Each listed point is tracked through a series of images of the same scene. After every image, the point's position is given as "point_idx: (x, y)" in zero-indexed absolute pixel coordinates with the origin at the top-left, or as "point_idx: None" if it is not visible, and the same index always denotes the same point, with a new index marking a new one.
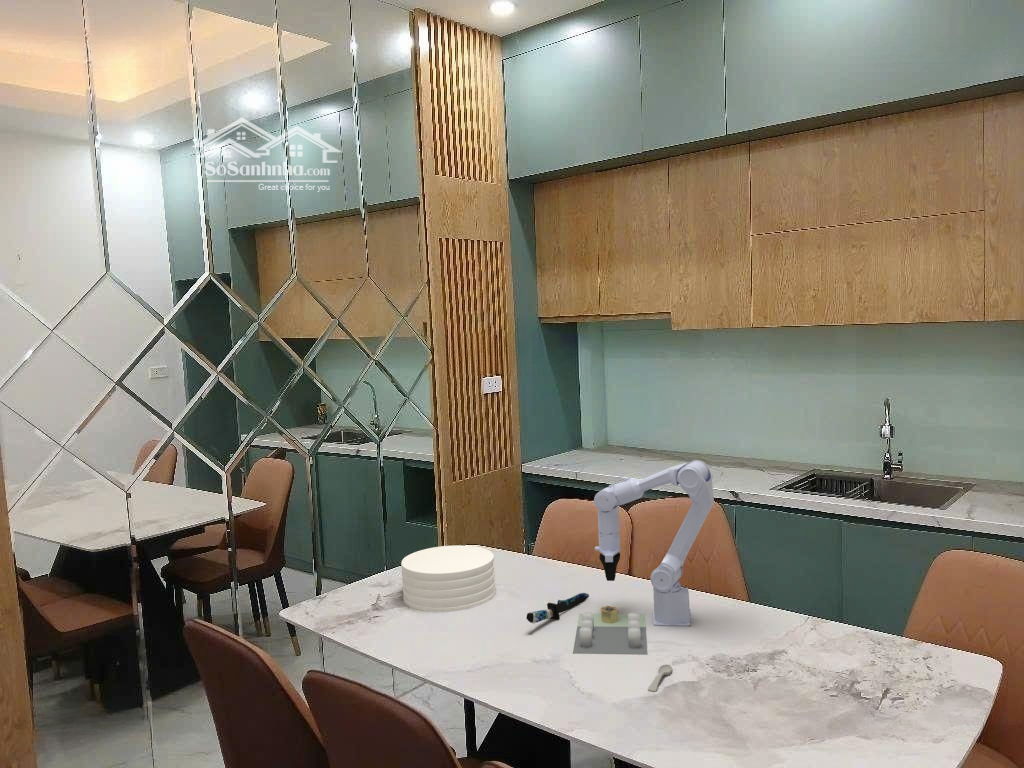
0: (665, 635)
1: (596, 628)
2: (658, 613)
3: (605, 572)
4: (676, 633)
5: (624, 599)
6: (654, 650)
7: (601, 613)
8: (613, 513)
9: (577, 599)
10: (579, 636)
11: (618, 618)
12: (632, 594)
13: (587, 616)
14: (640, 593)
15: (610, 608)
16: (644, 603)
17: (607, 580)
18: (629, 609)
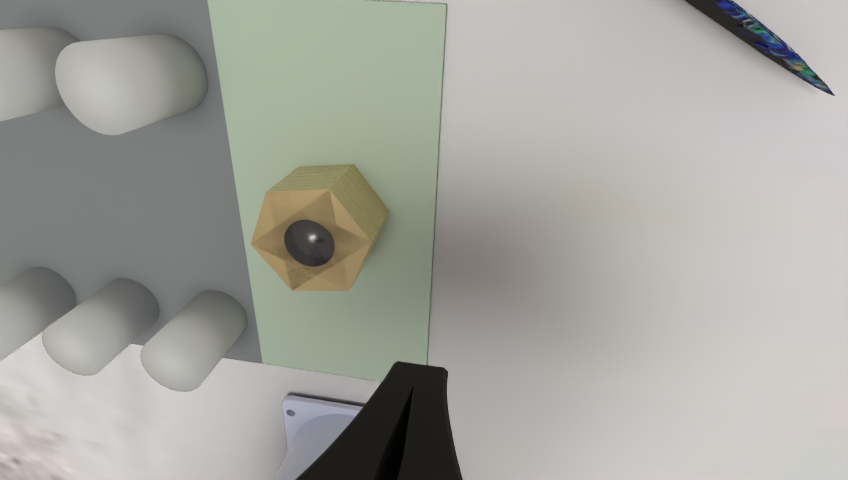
0: (198, 409)
1: (197, 127)
2: (291, 455)
3: (350, 426)
4: (226, 445)
5: (696, 329)
6: None
7: (297, 182)
8: None
9: None
10: (53, 13)
11: None
12: (779, 382)
13: (60, 88)
14: (779, 422)
15: (315, 253)
16: (596, 410)
17: (394, 366)
18: (512, 330)
